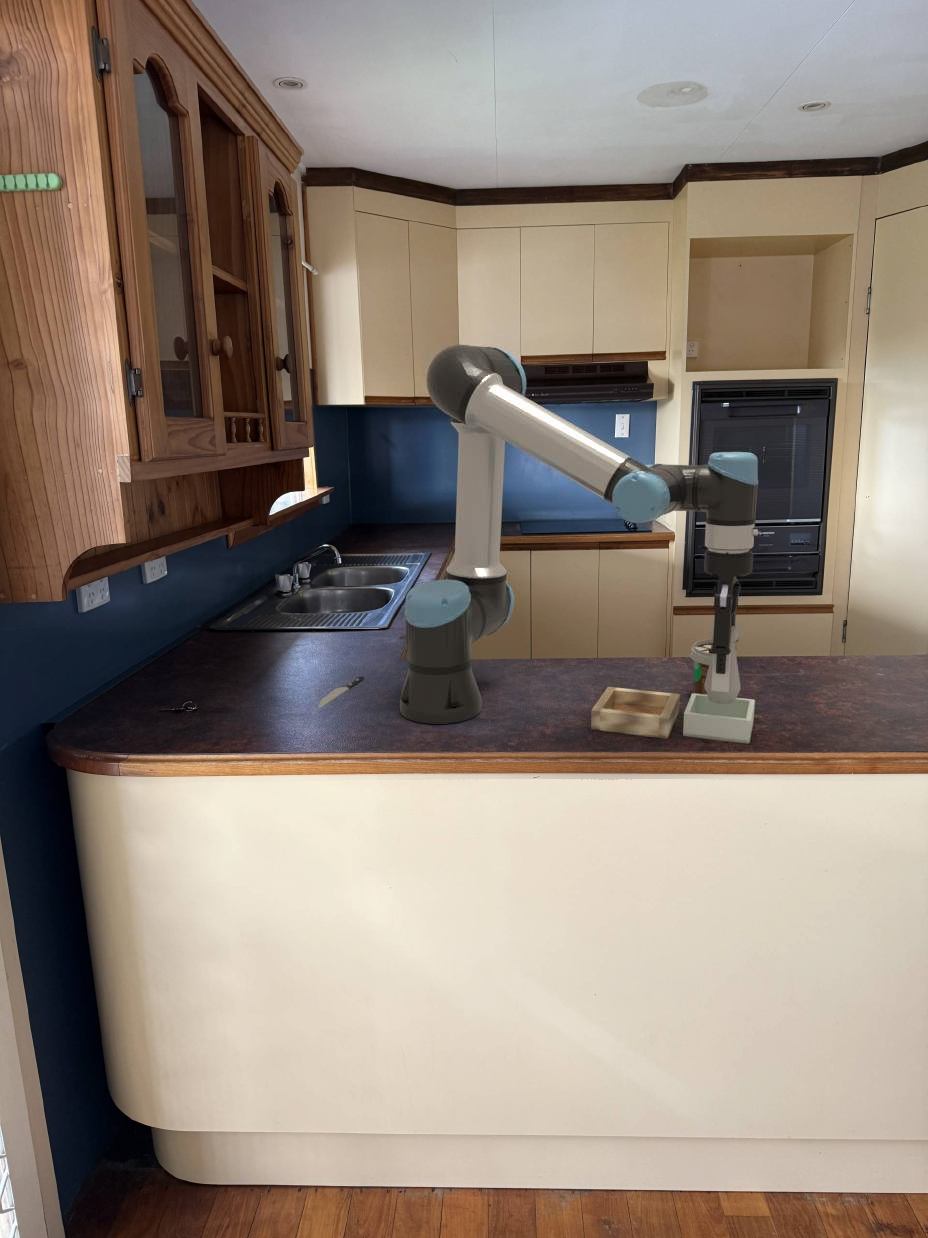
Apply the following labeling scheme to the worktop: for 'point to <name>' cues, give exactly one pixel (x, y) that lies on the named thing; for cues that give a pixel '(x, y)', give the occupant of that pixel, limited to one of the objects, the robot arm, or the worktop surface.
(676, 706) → the beige square tray
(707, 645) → the food container
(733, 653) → the salt shaker
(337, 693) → the chef's knife
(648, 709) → the plate
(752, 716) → the bin
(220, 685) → the worktop surface
